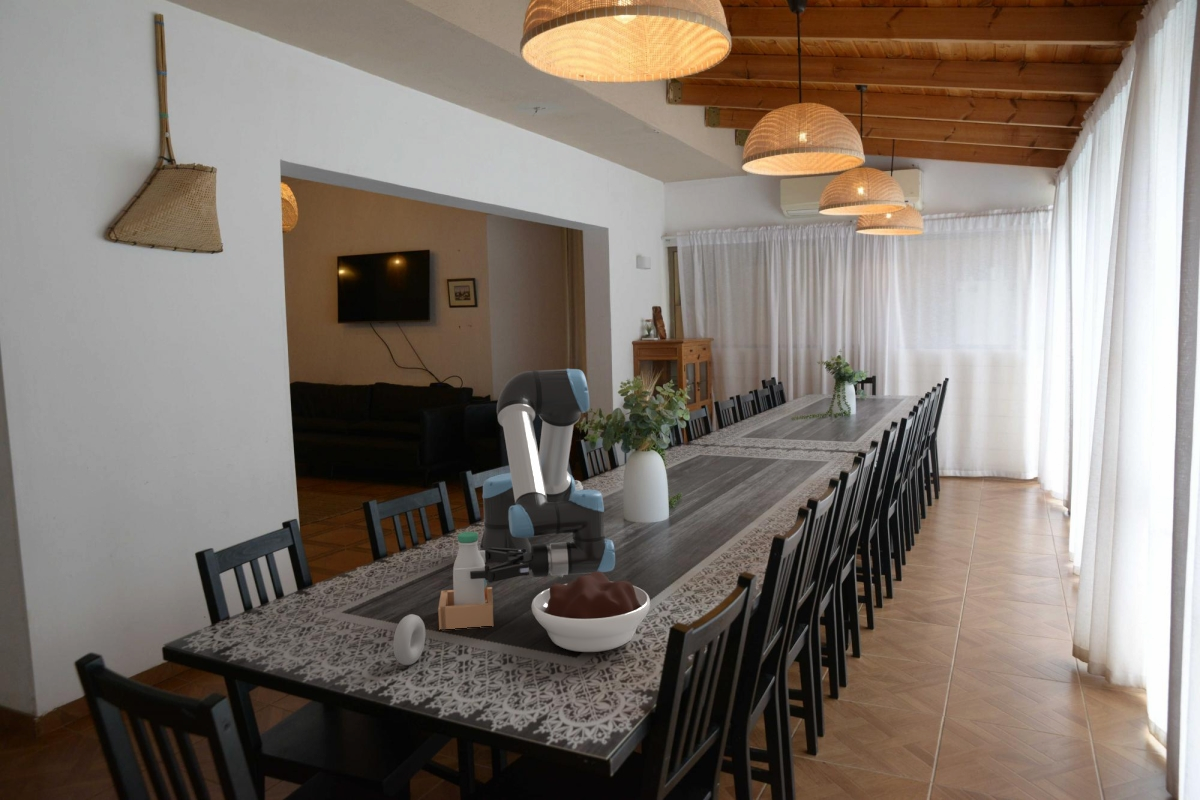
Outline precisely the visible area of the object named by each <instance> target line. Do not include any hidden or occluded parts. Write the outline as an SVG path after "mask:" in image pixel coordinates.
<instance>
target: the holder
mask: <svg viewBox="0 0 1200 800" xmlns="http://www.w3.org/2000/svg"><path fill="white" fill-rule="evenodd" d="M487 595H488V603H482V604H468V605H455V606H454V589H447V590H444V589H443V590H441V592H440V597H439V602H438V608H437V611H438V630H440V629H455V628H467V627H480V628H482V627H481V626H492V627H494V612H493V611H494V600H493V586H487ZM467 629H468V628H467ZM455 630H456V629H455Z"/></svg>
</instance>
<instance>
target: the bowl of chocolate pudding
mask: <svg viewBox="0 0 1200 800" xmlns="http://www.w3.org/2000/svg"><path fill="white" fill-rule="evenodd" d="M650 608H651V599H650V596H649V595H648V593H647V592H646V591H645V590H644V589H641V588H640V587H637V586H636V585H633V584H632V582H631V581H629V580H616V581H611V580H609V578H608V576H606V574H605V573H604V572H599V571H596V572H592V573H588V574H582V575H580V576H578V577H577V578H576V579H575V580H571V581H569V582H568V583H559V582H558V583H557V582H553V583H552V585H551V586H550V587H549V588H547V589H544V590H543V591H541V592H540V593H538V594H537V595H536V596H535V597H534V598H533V599H532V603H531V613H532V615H533V616H534V617H535V620H536V621H537V622H538V624H540V625H541V627H543V628H544V629H545V630H546V632H547V635H548V637H549V638H550V640H551V641H552V642H553V644H555V645H556V646H559V647H560V648H563V649H564V650H565V649H566V650H568V651H573V652H581V653H596V652H597V653H598V652H606V651H610V650H613V649H616V648H619V647H621V646H624V645H625V644H627V643H628V642H630V641H631V640H632V639H633V637H634V636H635V634H636V631H637V628H638V626H639V625H640V624H641V623H642V622H643V620H644V619H645V618H646V616H647V614H648V613H649V610H650Z"/></svg>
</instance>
